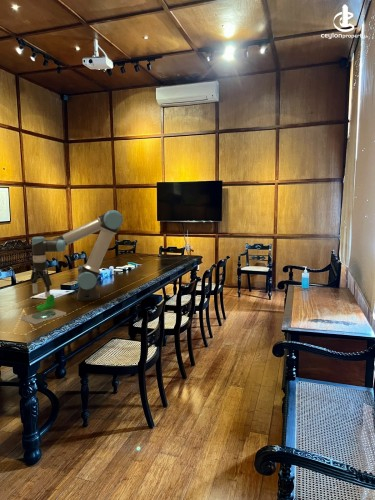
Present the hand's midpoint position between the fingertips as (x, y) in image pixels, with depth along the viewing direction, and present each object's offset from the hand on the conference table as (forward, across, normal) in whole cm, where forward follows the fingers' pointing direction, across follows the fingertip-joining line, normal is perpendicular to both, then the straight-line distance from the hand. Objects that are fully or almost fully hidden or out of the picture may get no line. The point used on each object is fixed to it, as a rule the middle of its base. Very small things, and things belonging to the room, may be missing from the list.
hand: (41, 294), depth 220 cm
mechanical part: (+9, +2, +1) cm, 9 cm away
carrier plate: (+8, +17, -10) cm, 21 cm away
